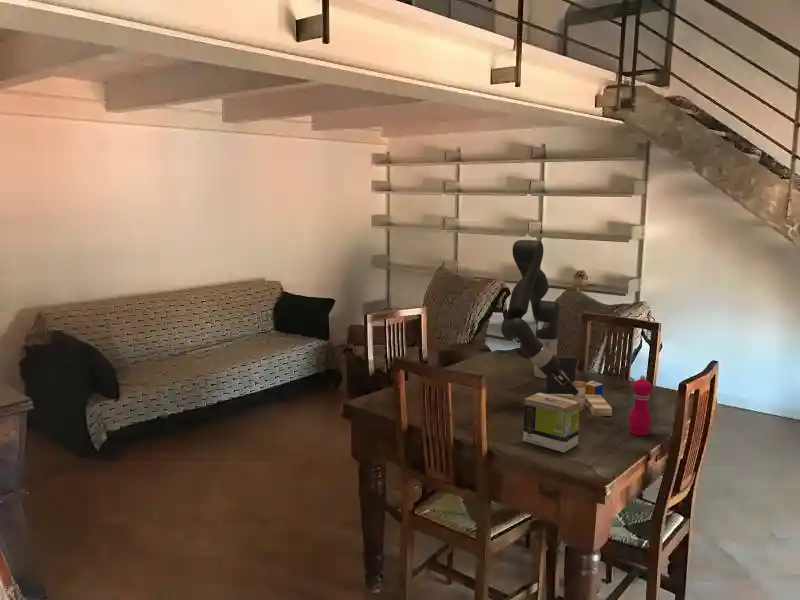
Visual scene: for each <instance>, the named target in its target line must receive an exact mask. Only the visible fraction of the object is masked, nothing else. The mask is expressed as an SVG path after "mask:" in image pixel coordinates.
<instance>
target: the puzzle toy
mask: <svg viewBox="0 0 800 600" xmlns="http://www.w3.org/2000/svg"><path fill="white" fill-rule="evenodd" d="M586 383H587V386H586V387H585V395H601V396H602V397H604V395H603V394H604V384H603V383H600V382H597V381H595V380H590V381H588V382H586Z"/></svg>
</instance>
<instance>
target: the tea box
mask: <svg viewBox="0 0 800 600" xmlns="http://www.w3.org/2000/svg"><path fill="white" fill-rule="evenodd" d="M549 394H550V393H545V392H544V393H543V392H537V393H535V394H533V395H531V396H528V397H526V398H524V403H523V404H524V405H523V428H522V430H523V432H522V433H523V436H522V438H523V439H522V441H523V442H526V443H530V444H534V445H536V446H540V447H543V448H547V449H550V450H553V451H558V452H561V453H563V454H564V453H565V452H567V451H569V450H571V449H573V448H574V447H575V446H577V445H578V443H579V432H580V431H579V429H580V426H579V425H580V411H579V409H580V401H576V400H571V399H567V398H562V397H558V396H553V395H549Z"/></svg>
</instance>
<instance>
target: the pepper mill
mask: <svg viewBox="0 0 800 600" xmlns="http://www.w3.org/2000/svg"><path fill="white" fill-rule="evenodd" d="M652 389H653V387H652V383H651V382H650V381H649V380H647V378H646V375H644V374H642V375H640V377H639V379H637V380H635V381H634V382H633V383H632V390H633V392H634V393H633V398H634V405H633V408H632V410H631V411H630V413H629V415H628V423H629V424H630V425H629V433H631V434H633V435H636V436H642V437H643V436H648V435H649V433H650V428H649V426H651V424H652V417H651V414H650V411H649V407H648V401H649V400H650V396H651V395H650V393H651V392H652Z"/></svg>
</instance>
